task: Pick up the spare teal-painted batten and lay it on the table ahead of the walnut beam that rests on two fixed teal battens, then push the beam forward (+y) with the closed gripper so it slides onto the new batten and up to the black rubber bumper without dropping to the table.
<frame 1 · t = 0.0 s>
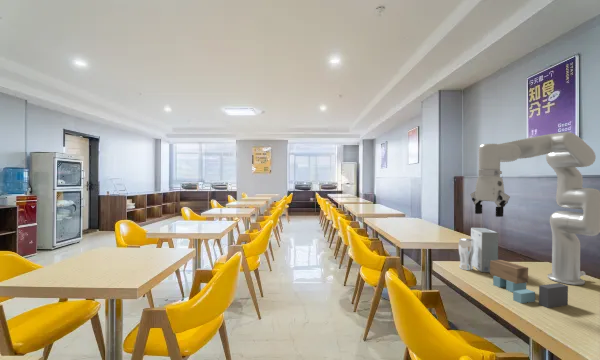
hand: (488, 215, 122), 31 cm above the table, fingers open, 9 cm apart
beer glass: (466, 268, 151), on the table
slab: (508, 278, 125), point 4 cm above the table, touching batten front, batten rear
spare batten: (524, 301, 112), on the table
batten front: (516, 290, 122), on the table
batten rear: (502, 285, 128), on the table
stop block: (553, 304, 108), on the table
hard drive box: (483, 268, 152), on the table
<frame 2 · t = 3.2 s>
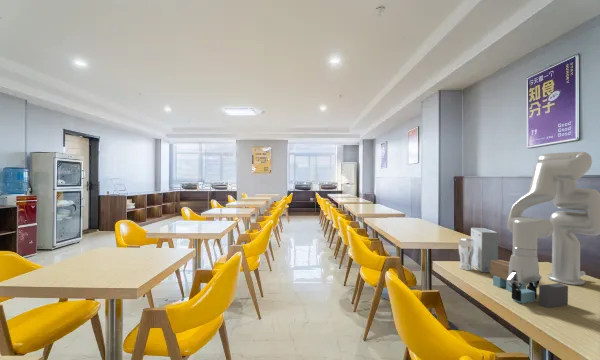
hand: (524, 298, 112), 1 cm above the table, fingers closed on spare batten, 7 cm apart
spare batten: (524, 300, 112), on the table, touching gripper
everything else where it was.
when the fingers open (2 cm above the table, at t = 8.5 s): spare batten drops 1 cm, on the table.
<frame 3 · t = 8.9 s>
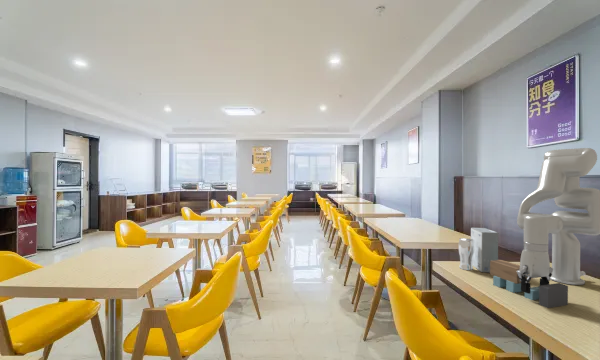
hand: (535, 291, 115), 3 cm above the table, fingers open, 9 cm apart
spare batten: (535, 298, 115), on the table
everything else where it was.
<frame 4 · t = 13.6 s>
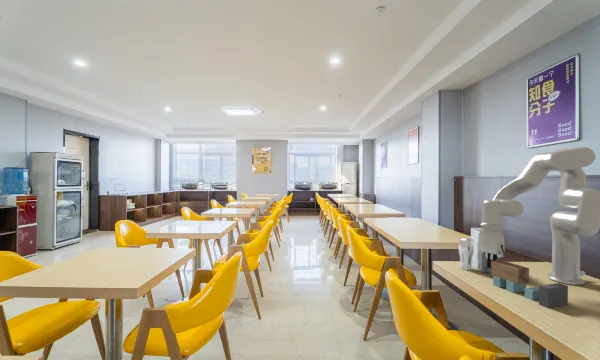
hand: (491, 267, 133), 6 cm above the table, fingers closed
slab: (509, 278, 125), point 4 cm above the table, touching gripper
everything else where it was.
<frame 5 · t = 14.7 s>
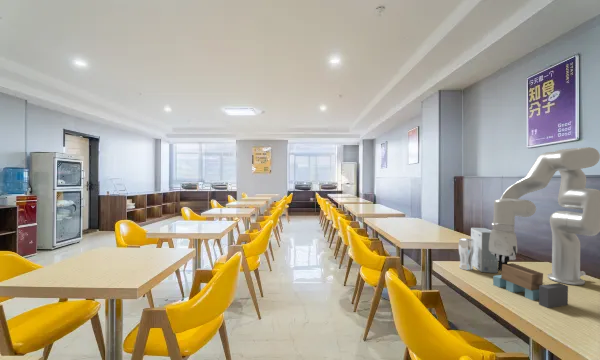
hand: (502, 270, 127), 7 cm above the table, fingers closed
slab: (520, 283, 119), point 4 cm above the table, touching gripper
everything else where it was.
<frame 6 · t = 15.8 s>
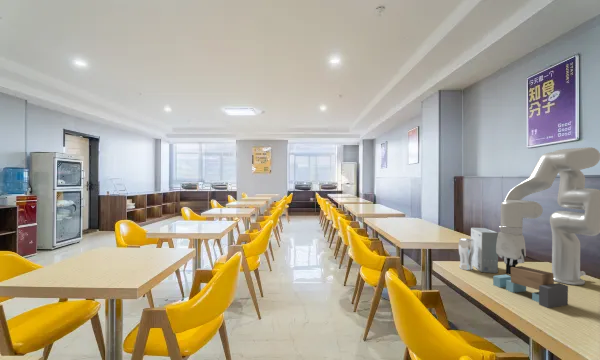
hand: (510, 273, 124), 6 cm above the table, fingers closed
slab: (531, 285, 116), point 4 cm above the table, touching gripper, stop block
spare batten: (538, 295, 114), point 1 cm above the table, tilted 90°
everything else where it was.
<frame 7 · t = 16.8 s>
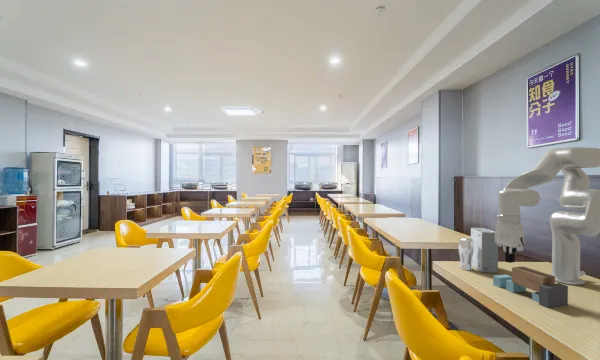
hand: (510, 261, 125), 11 cm above the table, fingers closed
slab: (532, 286, 116), point 4 cm above the table, touching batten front, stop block
everything else where it was.
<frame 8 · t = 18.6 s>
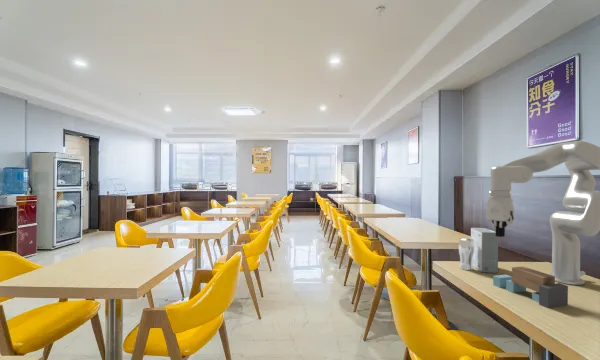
hand: (500, 236, 129), 21 cm above the table, fingers closed
nothing on the table moved.
at the end: slab 0.2 cm from the target spot, point 3.9 cm above the table; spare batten inside the target area under the slab (0.7 cm from its centre), point -2.7 cm above the slab's base; slab tilted 2° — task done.
